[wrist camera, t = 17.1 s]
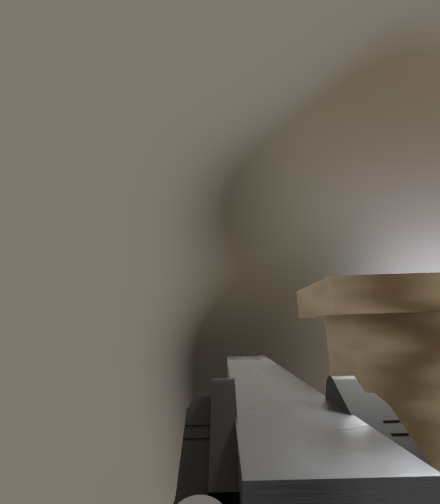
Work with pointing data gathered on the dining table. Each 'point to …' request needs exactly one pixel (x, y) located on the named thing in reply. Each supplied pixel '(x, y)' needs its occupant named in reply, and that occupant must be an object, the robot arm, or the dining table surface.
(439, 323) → the tall stand
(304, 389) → the hook bar
